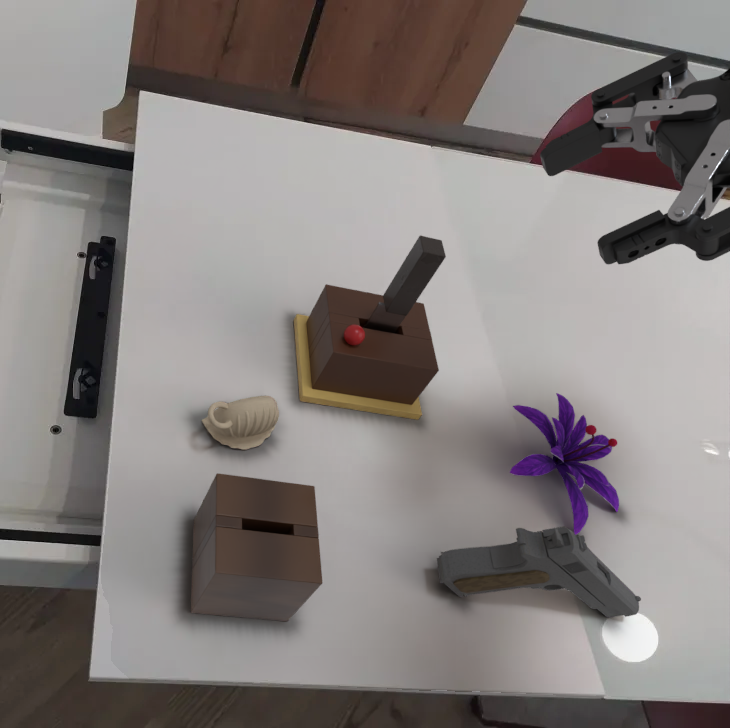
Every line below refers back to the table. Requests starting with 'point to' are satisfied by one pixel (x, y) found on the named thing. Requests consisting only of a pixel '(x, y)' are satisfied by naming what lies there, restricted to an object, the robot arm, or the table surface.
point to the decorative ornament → (242, 421)
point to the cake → (363, 356)
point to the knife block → (255, 549)
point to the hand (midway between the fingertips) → (571, 206)
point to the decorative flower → (569, 457)
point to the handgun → (539, 570)
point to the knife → (407, 284)
